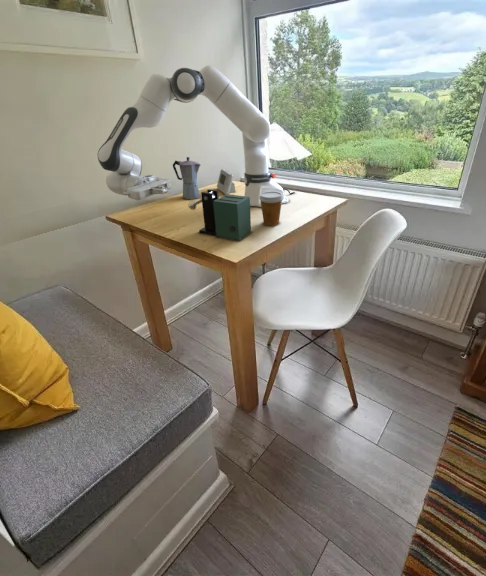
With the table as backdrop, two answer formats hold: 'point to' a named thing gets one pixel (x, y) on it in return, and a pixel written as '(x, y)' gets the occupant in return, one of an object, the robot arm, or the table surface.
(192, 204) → the lever
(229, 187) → the digital clock
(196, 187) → the moka pot
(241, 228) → the toaster
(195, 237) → the table surface
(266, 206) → the disposable coffee cup
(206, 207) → the lever bracket
